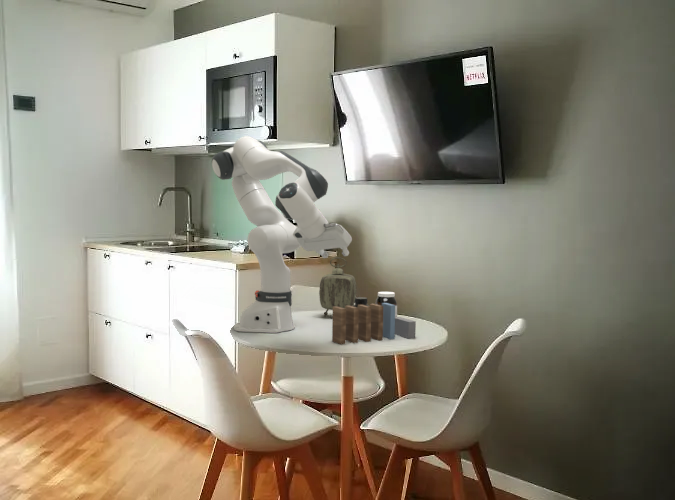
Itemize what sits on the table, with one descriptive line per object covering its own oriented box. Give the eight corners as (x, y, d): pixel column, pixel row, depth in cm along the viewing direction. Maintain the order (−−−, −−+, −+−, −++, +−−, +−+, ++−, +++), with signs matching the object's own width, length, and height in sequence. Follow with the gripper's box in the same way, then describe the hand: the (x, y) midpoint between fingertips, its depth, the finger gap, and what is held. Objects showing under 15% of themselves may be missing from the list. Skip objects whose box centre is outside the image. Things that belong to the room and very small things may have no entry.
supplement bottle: (372, 328, 257) (373, 297, 256) (365, 332, 250) (366, 299, 250) (355, 327, 259) (356, 296, 259) (348, 330, 253) (349, 298, 252)
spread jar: (399, 323, 269) (399, 294, 269) (372, 324, 266) (373, 295, 265) (388, 318, 281) (389, 290, 280) (362, 319, 278) (363, 290, 277)
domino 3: (366, 341, 233) (366, 307, 232) (357, 338, 238) (357, 304, 237) (370, 341, 234) (371, 307, 233) (361, 338, 239) (362, 304, 238)
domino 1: (340, 344, 228) (341, 309, 227) (332, 341, 234) (332, 306, 233) (345, 344, 229) (345, 308, 228) (336, 340, 234) (337, 306, 234)
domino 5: (390, 339, 238) (391, 305, 237) (381, 336, 243) (381, 303, 242) (394, 338, 239) (395, 305, 238) (385, 335, 244) (385, 302, 243)
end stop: (408, 338, 239) (408, 322, 239) (392, 333, 248) (392, 317, 248) (415, 338, 241) (415, 321, 240) (399, 333, 250) (399, 316, 249)
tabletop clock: (355, 316, 284) (357, 256, 282) (353, 320, 275) (354, 258, 273) (321, 314, 286) (322, 255, 284) (318, 318, 277) (319, 257, 275)
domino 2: (353, 343, 231) (354, 308, 230) (344, 339, 236) (345, 305, 235) (358, 342, 232) (358, 307, 231) (349, 339, 237) (349, 305, 236)
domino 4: (378, 340, 236) (379, 306, 235) (369, 337, 241) (369, 303, 240) (382, 340, 236) (383, 306, 236) (373, 337, 242) (374, 303, 241)
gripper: (342, 215, 216) (363, 246, 223) (298, 222, 230) (319, 251, 237) (333, 229, 213) (355, 260, 219) (289, 235, 227) (311, 264, 233)
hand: (336, 255), depth 228 cm, fingers open, 8 cm apart
